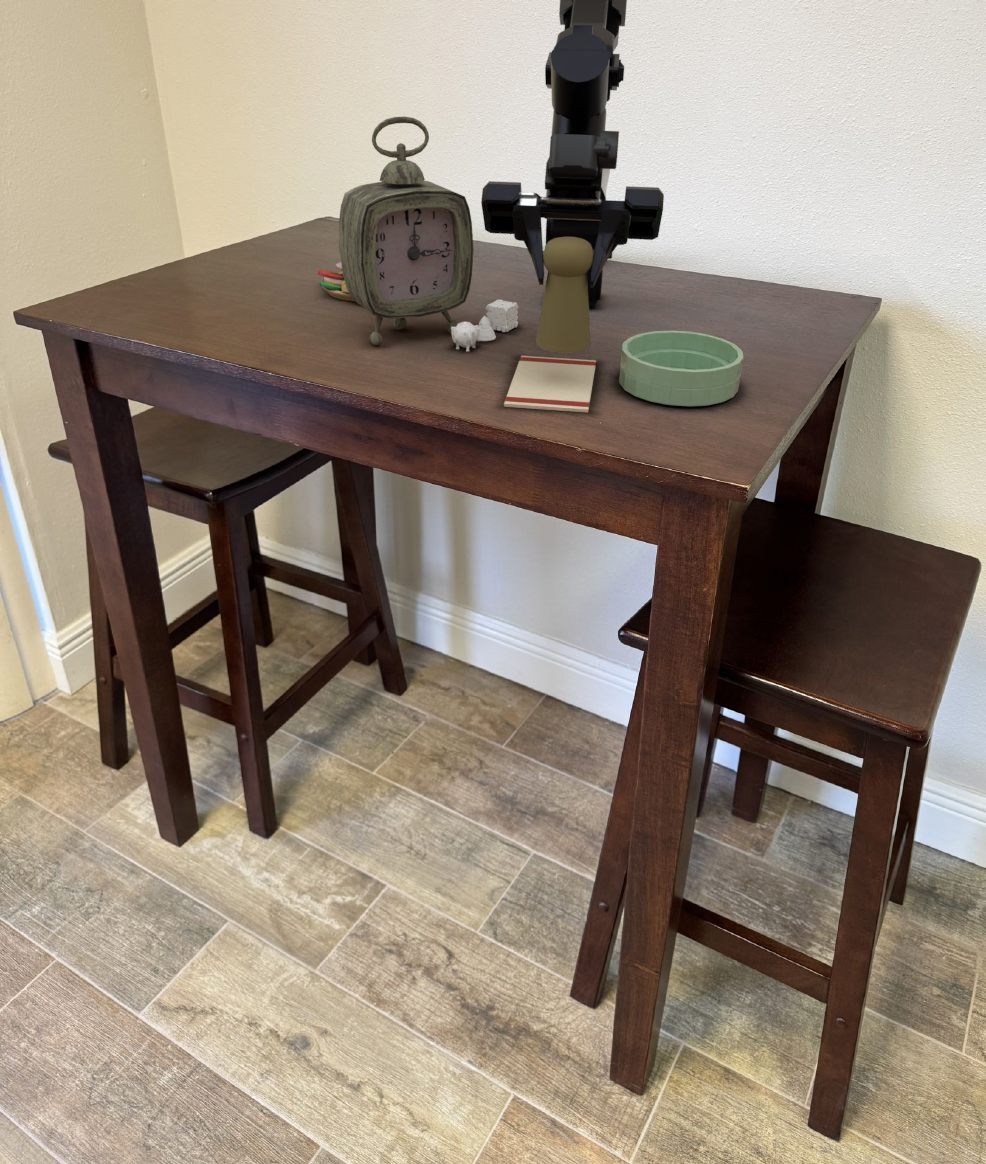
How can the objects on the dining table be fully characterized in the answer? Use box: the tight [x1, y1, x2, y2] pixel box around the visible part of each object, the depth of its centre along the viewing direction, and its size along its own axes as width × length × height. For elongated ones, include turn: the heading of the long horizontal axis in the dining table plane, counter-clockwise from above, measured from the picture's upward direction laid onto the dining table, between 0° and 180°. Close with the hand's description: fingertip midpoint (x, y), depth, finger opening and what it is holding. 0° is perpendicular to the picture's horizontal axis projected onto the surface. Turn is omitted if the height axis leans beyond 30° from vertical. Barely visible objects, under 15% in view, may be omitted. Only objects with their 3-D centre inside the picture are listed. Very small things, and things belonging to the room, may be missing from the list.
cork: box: [535, 237, 593, 354], centre depth 99 cm, size 6×6×11 cm
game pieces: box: [450, 299, 520, 352], centre depth 118 cm, size 12×3×3 cm, turn 149°
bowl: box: [618, 330, 745, 407], centre depth 105 cm, size 13×13×4 cm
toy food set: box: [317, 261, 357, 303], centre depth 134 cm, size 13×13×3 cm
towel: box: [503, 355, 597, 414], centre depth 106 cm, size 9×15×1 cm, turn 172°
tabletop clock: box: [338, 116, 475, 346], centre depth 113 cm, size 14×9×25 cm, turn 117°
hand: (565, 284), depth 97 cm, fingers closed on cork, 5 cm apart
